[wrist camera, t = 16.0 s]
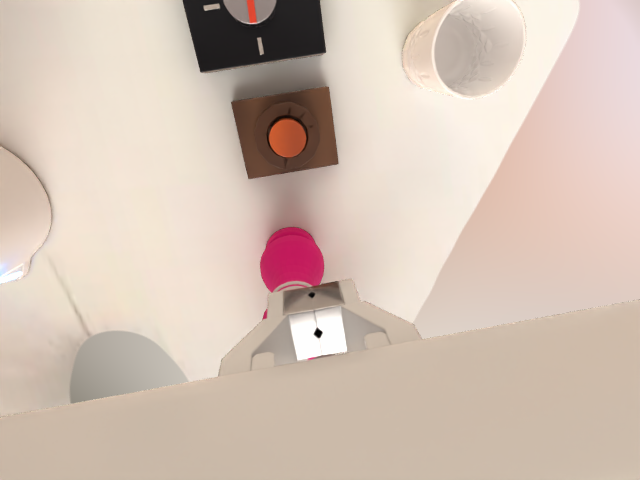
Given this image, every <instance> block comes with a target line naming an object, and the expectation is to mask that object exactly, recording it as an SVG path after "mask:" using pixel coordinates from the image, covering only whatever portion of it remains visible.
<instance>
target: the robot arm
mask: <svg viewBox="0 0 640 480" xmlns="http://www.w3.org/2000/svg"><path fill="white" fill-rule="evenodd" d="M51 219H52V218H51V207H50V203H49V199H48V196H47V194H46V192H45V190H44V188H43V186H42V184H41V183H40V181H39V180H38V178H37V177H36V175H35V174H34V173H33V172H32V171H31V169H30V168H29V167H28V166H27V165H26V164H25V163H24V162H22V161H21V160H20V159H19V158H18V157H16V156H15V155H14V154H12V153H11V152H9V151H8V150H6V149H4V148H3V147H1V146H0V283H3V282H6V281H17V280H19V279H21V278H23V277H25V276H26V274H27V273H28V270H29V266H30V261H31V257H32V256H33V254H34V253H35V252H36V251H37V250H38V249H39V248H40V247H41V245H42V244H43V243H44V241H45V240H46V238H47V236H48V234H49V231H50V227H51ZM346 351H347V353H345V354H340V355H334V356H329V357H323V358H318V359H312V360H307V361H302V362H298V360H302V359H307V358H311V357H316V356H321V355H327V354H333V353H340V352H346ZM0 480H640V299H639V300H633V301H628V302H622V303H617V304H612V305H606V306H601V307H595V308H590V309H584V310H579V311H574V312H568V313H563V314H557V315H552V316H546V317H541V318H536V319H530V320H525V321H519V322H514V323H508V324H503V325H497V326H492V327H486V328H481V329H476V330H470V331H465V332H459V333H454V334H449V335H443V336H438V337H432V338H427V339H422V338H421V336H420V334H419V332H418V331H417V329H416V327H415V325H414V324H412V323H410V322H408V321H406V320H403V319H401V318H399V317H397V316H395V315H393V314H391V313H389V312H387V311H385V310H382V309H380V308H378V307H376V306H374V305H372V304H370V303H368V302H366V301H362V302H361V300H360V298H359V295H358V292H357V290H356V287H355V284H354V282H353V279H346V280H342V281H336V282H331V283H326V284H321V285H316V286H310V287H304V288H297V289H291V290H285V291H278V292H273V293H269V295H268V307H267V319H263V320H262V321H261V322H260V323H259V324H258V325H257V326H256V327H255V328H254V329H252V330H251V331H250V332H249V333H248V334H247V335H246V336H245V337H244V338H243V339H242V340H241V341H240V342H239V343H238V344H237V345H236V346H235V347H234V348H233V349H232V350H231V351H230V352H229V353H228V354H227V355H226V356H225V357H224V358H223V359H222V360H221V365H220V369H219V374H218V377H214V378H209V379H203V380H198V381H193V382H187V383H182V384H176V385H171V386H166V387H160V388H155V389H149V390H144V391H139V392H133V393H128V394H122V395H117V396H112V397H106V398H101V399H95V400H90V401H84V402H79V403H73V404H68V405H62V406H57V407H51V408H46V409H40V410H35V411H29V412H24V413H19V414H13V415H8V416H2V417H0Z"/></svg>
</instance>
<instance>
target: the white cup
mask: <svg viewBox="0 0 640 480" xmlns="http://www.w3.org/2000/svg"><path fill="white" fill-rule="evenodd" d="M525 45H526V25H525V21H524V17H523V15H522V12H521V10H520V9H519V7H518V5H517V4H516V3H515V2H514V1H513V0H455V1H454V2H452V3H450V4H448V5H447V6H445V7H443V8H441V9H440V10H438V11H437V12H435V13H433V14H432V15H430V16H429V17H428V18H426V19H425V20H424V21H422V22H420V23H419V24H418V25H417V26H416V27H415V28H414V29H413V30H412V31H411V32H410V34H409V35H408V36H407V39H406V42H405V45H404V47H403V50H402V59H403V68H404V70H405V72H406V74H407V76H408V78H409V80H410V81H412V82H413V83H414V84H416V85H417V86H419V87H420V88H424V89H427V90H430V91H433V92H437V93H440V94H444V95H449V96H454V97H459V98H464V99H478V98H483V97H486V96H488V95H491V94H492V93H494V92H496V91H497V90H499V89H500V88H501V87H503V86H504V85H505V84H506V83H507V82H508V81H509V80H510V79H511V77H512V76H513V75H514V73H515V72H516V70H517V68H518V66H519V64H520V62H521V60H522V57H523V54H524V50H525Z"/></svg>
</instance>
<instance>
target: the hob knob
mask: <svg viewBox="0 0 640 480" xmlns="http://www.w3.org/2000/svg"><path fill="white" fill-rule="evenodd" d="M223 1H224V4H225V6H226V8H227V10H228V11H229V13H230V14H231V15H232V17H233V18H234V19H235V20H236V21H237V22H238V23H239V24H240V25H242V26H243V27H246V28H249V29H260V28H262V27H264V26H266V25H267V24H269V23H270V22H271V20H272V19H273V17H274V15H275V13H276V9H277V0H223Z"/></svg>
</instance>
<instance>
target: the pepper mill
mask: <svg viewBox="0 0 640 480" xmlns="http://www.w3.org/2000/svg"><path fill="white" fill-rule="evenodd" d="M260 269H261V276H262V279H263V281H264V283H265V285H266V287H267V288H268V289H269V290H270V291H271V292H272V293H273V292H278V291H285V290H291V289H297V288H304V287H310V286H316V285H319V284H320V282H321V279H322V277H323V273H324V260H323V256H322V253H321V251H320V249H319V248H318V246H317V245H316V244H315V241H314V239H313V238H312V236H311V235H310V234H309V233H308V232H306V231H305V230H303V229H300V228H296V227H288V228H283V229H280V230H278V231H277V232H275V233H274V234H273V235H272V236H271V237H270V239H269V240H268V242H267V245H266V249H265V251H264V252H263V255H262V257H261V262H260ZM263 319H267V309H266V311H265V312H264V316H263ZM263 319H262V320H263ZM316 357H317V356H316ZM313 358H315V357H311V358H307V359H302V360H298V362H302V361H307V360H312V359H313Z"/></svg>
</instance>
